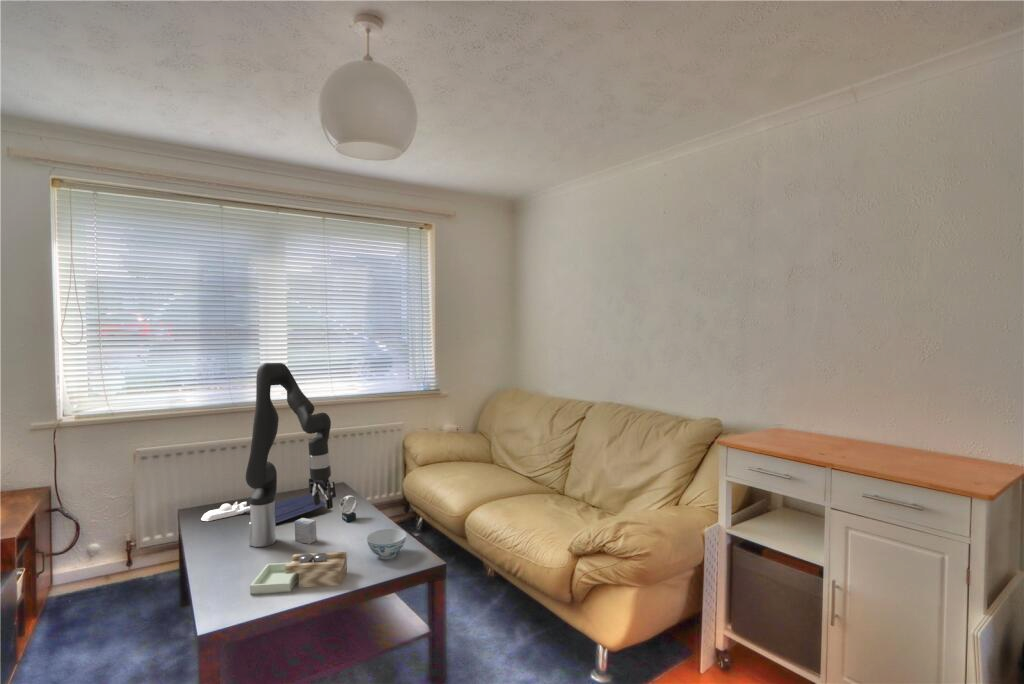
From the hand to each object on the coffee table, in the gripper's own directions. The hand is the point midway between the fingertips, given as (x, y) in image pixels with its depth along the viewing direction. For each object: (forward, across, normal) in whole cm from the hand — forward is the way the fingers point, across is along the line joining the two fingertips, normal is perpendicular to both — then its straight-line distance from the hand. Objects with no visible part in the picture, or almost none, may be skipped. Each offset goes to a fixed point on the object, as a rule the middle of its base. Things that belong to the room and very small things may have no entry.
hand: (323, 506), depth 204 cm
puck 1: (+14, +11, -15) cm, 23 cm away
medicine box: (+20, -21, +3) cm, 29 cm away
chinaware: (+21, +18, +14) cm, 31 cm away
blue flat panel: (+19, -57, +16) cm, 62 cm away
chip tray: (+19, +3, -22) cm, 29 cm away
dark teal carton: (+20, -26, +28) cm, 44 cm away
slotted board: (+20, +13, -13) cm, 27 cm away
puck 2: (+14, +14, -12) cm, 23 cm away
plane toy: (+17, -79, -3) cm, 81 cm away
